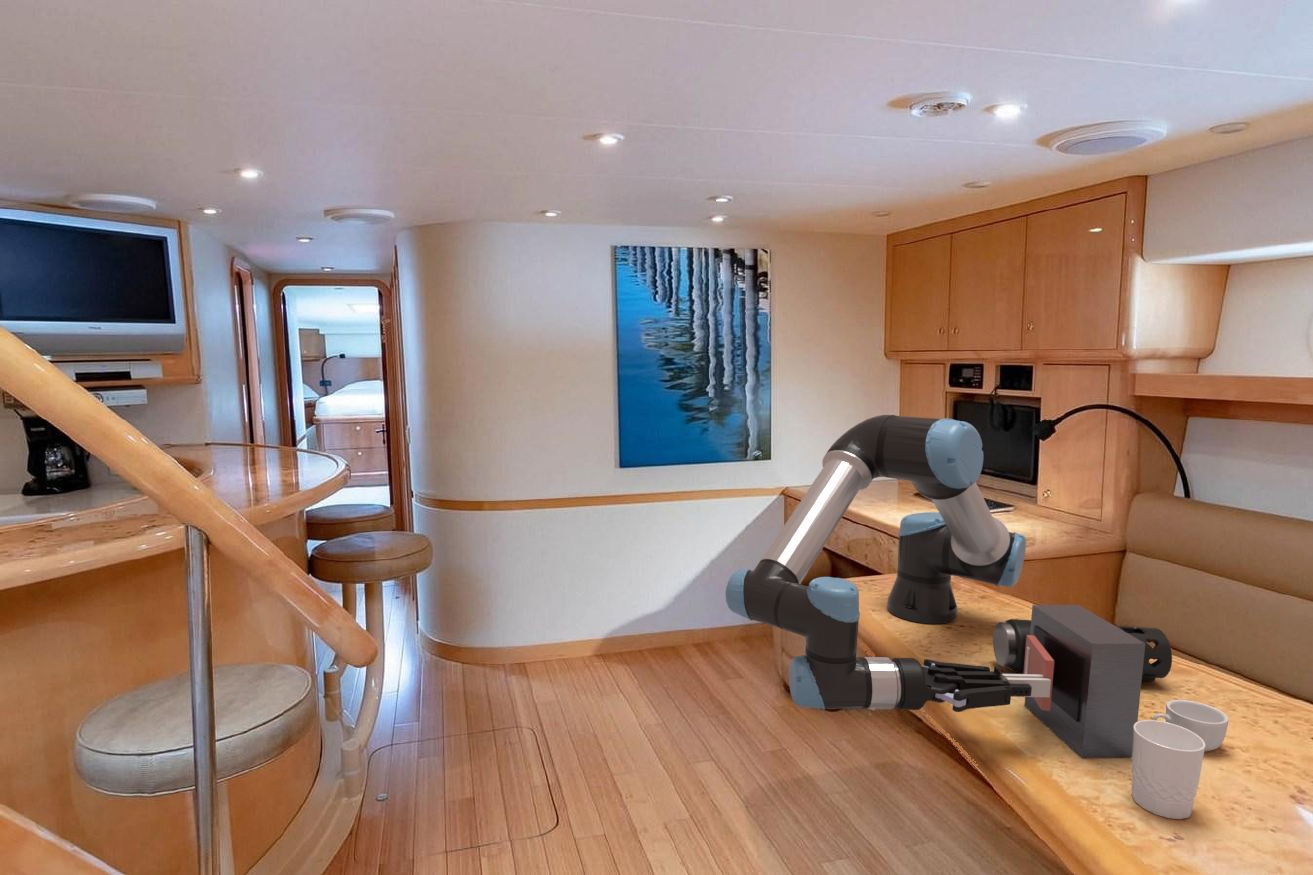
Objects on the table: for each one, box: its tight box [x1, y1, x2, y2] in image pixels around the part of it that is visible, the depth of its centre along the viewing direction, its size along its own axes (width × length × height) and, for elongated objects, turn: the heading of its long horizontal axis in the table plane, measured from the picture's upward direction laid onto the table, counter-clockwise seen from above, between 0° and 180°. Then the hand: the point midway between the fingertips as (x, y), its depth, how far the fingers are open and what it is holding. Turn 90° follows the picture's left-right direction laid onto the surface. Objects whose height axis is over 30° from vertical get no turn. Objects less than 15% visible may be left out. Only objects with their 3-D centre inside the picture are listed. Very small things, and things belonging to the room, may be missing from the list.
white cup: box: [1131, 719, 1205, 820], centre depth 98 cm, size 8×8×10 cm
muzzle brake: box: [992, 618, 1173, 682], centre depth 136 cm, size 10×28×10 cm, turn 83°
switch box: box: [1023, 604, 1145, 759], centre depth 116 cm, size 16×8×18 cm, turn 2°
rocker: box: [1023, 635, 1054, 711], centre depth 116 cm, size 10×1×8 cm, turn 168°
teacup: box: [1152, 699, 1229, 752], centre depth 114 cm, size 10×8×5 cm
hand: (1046, 685), depth 111 cm, fingers closed
